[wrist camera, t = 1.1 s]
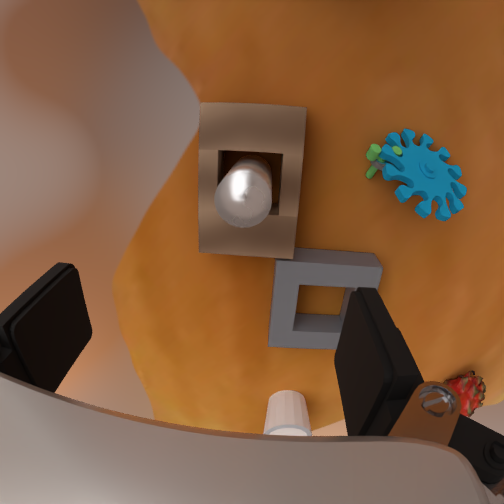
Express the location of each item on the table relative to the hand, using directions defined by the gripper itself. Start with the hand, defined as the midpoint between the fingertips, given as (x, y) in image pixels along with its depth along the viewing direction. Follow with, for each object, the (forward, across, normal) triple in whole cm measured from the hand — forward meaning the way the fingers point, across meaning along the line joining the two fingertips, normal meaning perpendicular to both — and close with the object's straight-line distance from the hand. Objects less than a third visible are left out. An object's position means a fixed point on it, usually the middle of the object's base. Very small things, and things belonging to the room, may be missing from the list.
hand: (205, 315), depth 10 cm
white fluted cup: (+24, -7, +32) cm, 41 cm away
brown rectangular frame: (+23, 0, 0) cm, 23 cm away
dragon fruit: (+24, -36, +30) cm, 53 cm away
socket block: (+23, -9, +12) cm, 28 cm away
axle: (+23, 0, 0) cm, 23 cm away
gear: (+23, -16, -3) cm, 29 cm away
